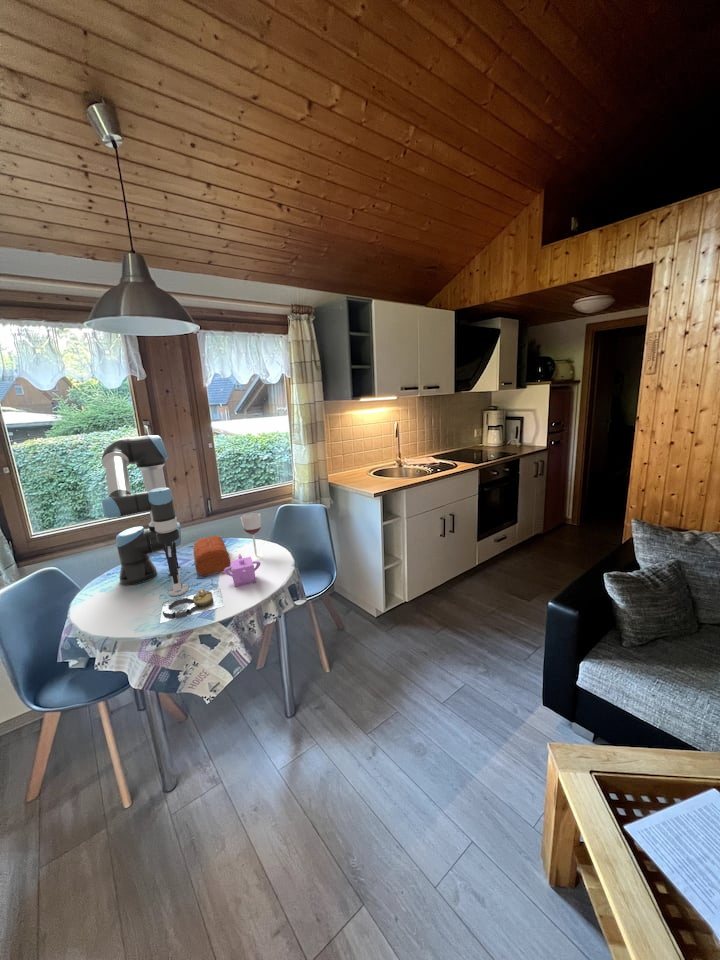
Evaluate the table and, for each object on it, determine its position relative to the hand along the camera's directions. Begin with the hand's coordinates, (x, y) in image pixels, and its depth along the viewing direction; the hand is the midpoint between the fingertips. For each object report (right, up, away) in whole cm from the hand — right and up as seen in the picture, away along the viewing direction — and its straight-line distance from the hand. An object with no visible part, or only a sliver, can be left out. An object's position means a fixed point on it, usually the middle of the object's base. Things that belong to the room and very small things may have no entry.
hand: (177, 588), depth 147 cm
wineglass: (+17, +2, +48) cm, 51 cm away
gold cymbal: (+8, -7, +5) cm, 11 cm away
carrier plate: (+4, -9, +4) cm, 10 cm away
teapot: (+19, -4, +22) cm, 29 cm away
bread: (-4, 0, +44) cm, 45 cm away
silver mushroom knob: (0, -2, 0) cm, 2 cm away
